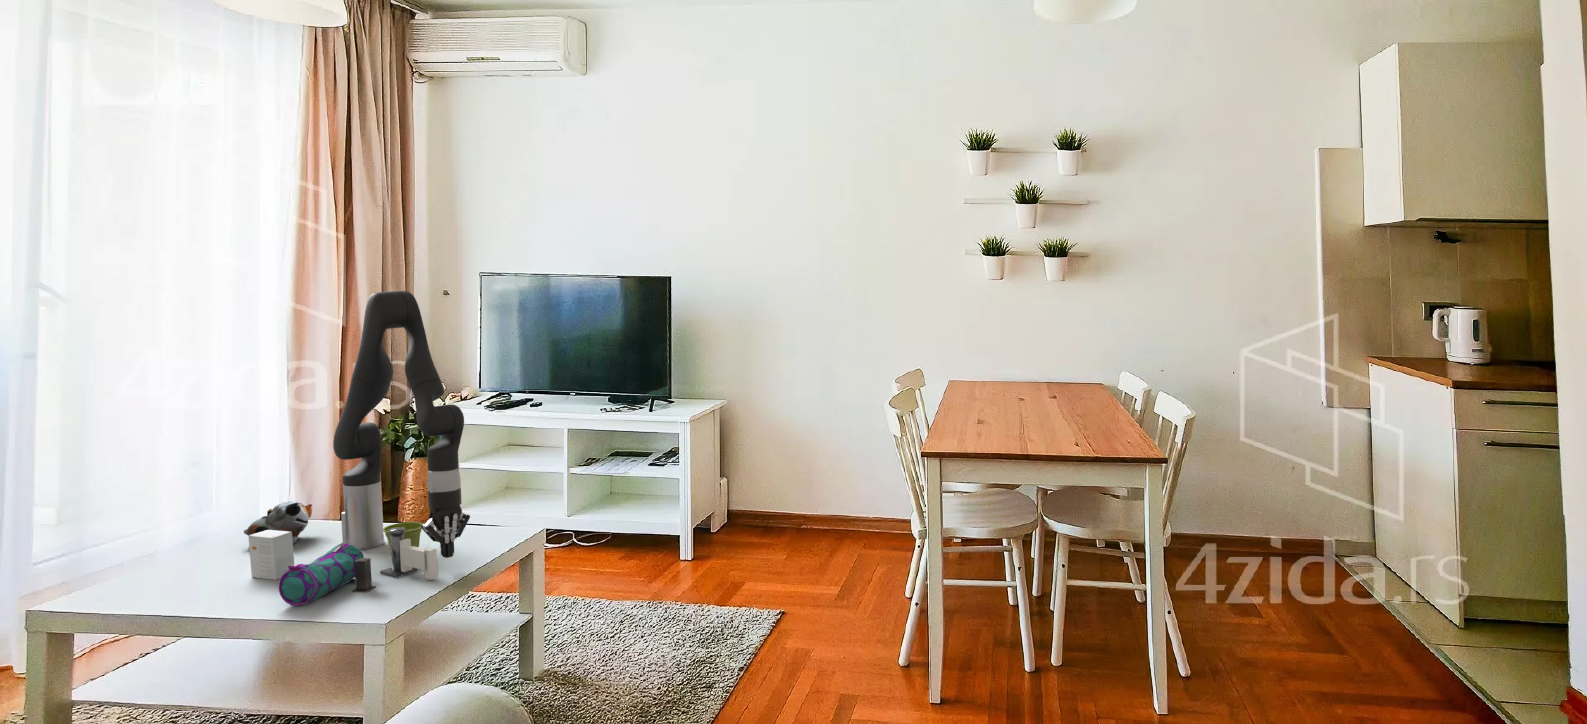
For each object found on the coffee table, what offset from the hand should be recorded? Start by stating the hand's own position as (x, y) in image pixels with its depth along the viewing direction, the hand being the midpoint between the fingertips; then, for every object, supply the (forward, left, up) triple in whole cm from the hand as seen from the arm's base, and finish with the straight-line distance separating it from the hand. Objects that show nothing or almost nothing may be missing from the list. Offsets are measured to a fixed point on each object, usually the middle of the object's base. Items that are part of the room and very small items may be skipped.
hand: (447, 556), depth 221 cm
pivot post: (-12, -2, -4) cm, 12 cm away
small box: (-42, -6, -4) cm, 42 cm away
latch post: (-13, -14, -4) cm, 20 cm away
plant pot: (-16, +8, -4) cm, 18 cm away
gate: (-5, -5, -3) cm, 8 cm away
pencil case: (-22, -17, -4) cm, 28 cm away
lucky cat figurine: (-60, +22, -4) cm, 64 cm away
